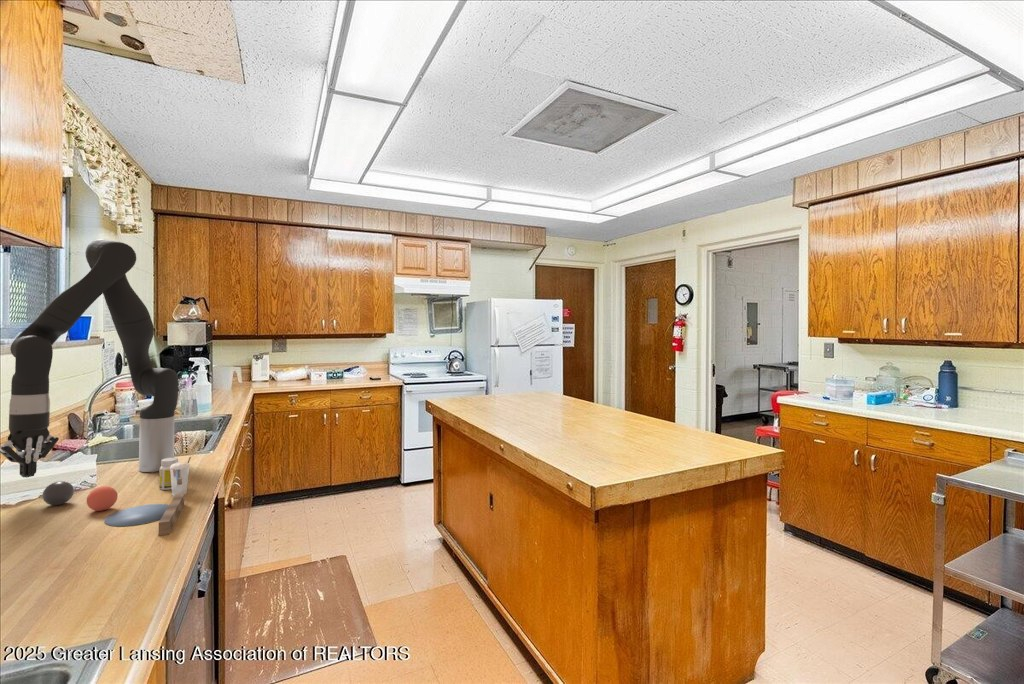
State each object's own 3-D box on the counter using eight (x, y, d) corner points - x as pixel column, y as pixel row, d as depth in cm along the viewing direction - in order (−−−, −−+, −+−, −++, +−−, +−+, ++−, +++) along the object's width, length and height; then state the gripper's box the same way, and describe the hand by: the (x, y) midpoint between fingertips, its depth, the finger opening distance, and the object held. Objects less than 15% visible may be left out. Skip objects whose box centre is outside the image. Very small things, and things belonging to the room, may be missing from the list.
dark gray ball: (54, 500, 126) (54, 478, 126) (79, 500, 127) (80, 478, 127) (35, 509, 120) (35, 485, 120) (62, 508, 121) (62, 485, 121)
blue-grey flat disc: (128, 505, 125) (128, 504, 125) (186, 504, 127) (186, 503, 127) (89, 527, 111) (89, 526, 111) (155, 525, 113) (155, 524, 113)
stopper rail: (175, 505, 126) (175, 494, 125) (184, 504, 126) (184, 493, 126) (158, 535, 108) (158, 522, 108) (169, 534, 108) (169, 521, 108)
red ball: (97, 506, 124) (97, 483, 123) (122, 505, 125) (123, 482, 124) (80, 514, 118) (80, 491, 118) (107, 514, 119) (107, 490, 118)
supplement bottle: (183, 485, 141) (183, 457, 141) (170, 490, 136) (170, 461, 136) (168, 484, 142) (168, 456, 141) (155, 489, 137) (155, 460, 137)
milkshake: (195, 492, 136) (196, 457, 136) (177, 498, 131) (177, 462, 130) (184, 490, 137) (184, 455, 137) (165, 496, 132) (166, 460, 132)
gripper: (10, 415, 118) (8, 485, 118) (68, 408, 131) (67, 471, 131) (-14, 413, 119) (-16, 482, 119) (46, 406, 132) (45, 468, 132)
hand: (28, 476), depth 125 cm, fingers closed
